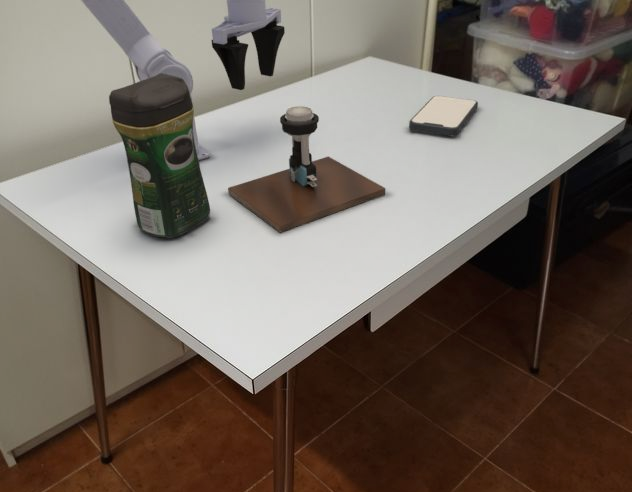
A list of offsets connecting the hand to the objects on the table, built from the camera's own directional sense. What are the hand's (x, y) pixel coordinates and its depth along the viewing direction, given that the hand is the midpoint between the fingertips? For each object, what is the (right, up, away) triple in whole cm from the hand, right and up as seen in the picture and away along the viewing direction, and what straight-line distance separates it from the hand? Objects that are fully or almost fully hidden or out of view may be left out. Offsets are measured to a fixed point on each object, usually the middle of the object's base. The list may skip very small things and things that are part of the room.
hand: (252, 81), depth 100 cm
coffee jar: (-9, -26, -15) cm, 31 cm away
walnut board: (+9, -21, -10) cm, 24 cm away
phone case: (+33, -2, +11) cm, 35 cm away
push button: (+8, -18, -9) cm, 22 cm away
